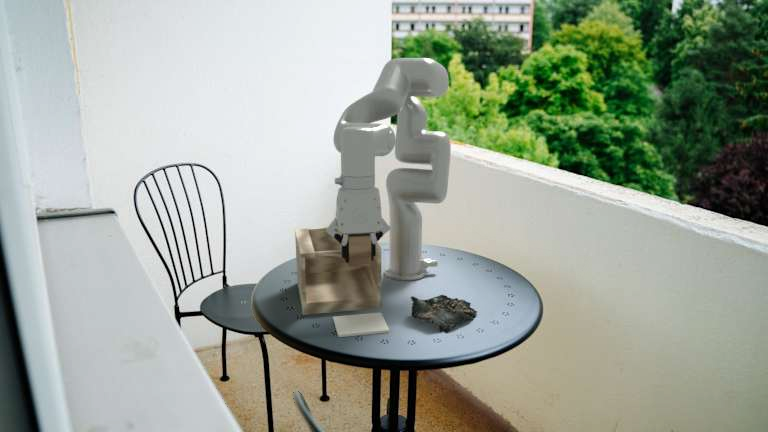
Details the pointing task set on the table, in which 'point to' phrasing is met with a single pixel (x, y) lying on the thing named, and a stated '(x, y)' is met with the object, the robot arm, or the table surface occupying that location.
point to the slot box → (333, 275)
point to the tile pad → (360, 324)
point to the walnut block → (359, 250)
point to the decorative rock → (442, 311)
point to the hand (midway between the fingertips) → (358, 259)
